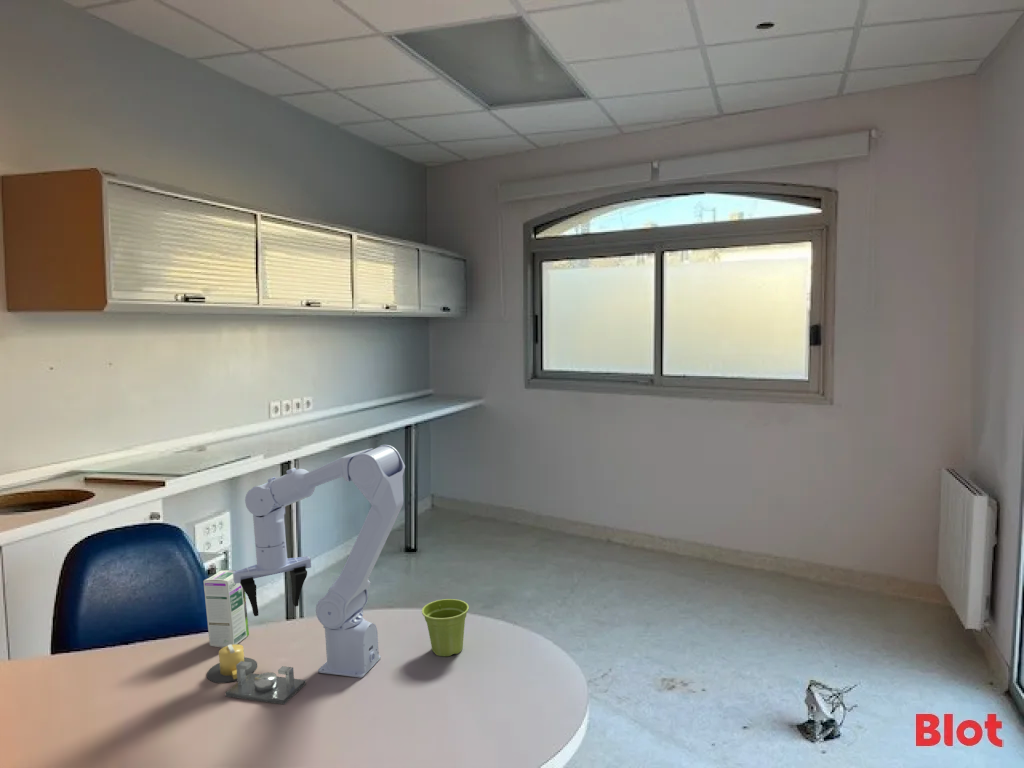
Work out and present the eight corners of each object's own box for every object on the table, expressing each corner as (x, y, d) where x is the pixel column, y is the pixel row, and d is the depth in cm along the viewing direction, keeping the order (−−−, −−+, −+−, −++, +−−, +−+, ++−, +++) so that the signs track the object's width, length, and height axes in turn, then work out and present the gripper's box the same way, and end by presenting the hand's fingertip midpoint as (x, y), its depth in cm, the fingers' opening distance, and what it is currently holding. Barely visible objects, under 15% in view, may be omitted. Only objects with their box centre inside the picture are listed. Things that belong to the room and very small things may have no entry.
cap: (249, 674, 130) (247, 652, 130) (224, 682, 128) (222, 659, 127) (240, 657, 137) (238, 636, 136) (216, 664, 134) (215, 643, 134)
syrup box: (233, 648, 142) (228, 580, 140) (208, 646, 143) (202, 579, 141) (249, 635, 147) (244, 570, 146) (224, 634, 148) (219, 569, 147)
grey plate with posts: (305, 684, 127) (304, 660, 126) (283, 704, 120) (282, 679, 120) (249, 677, 130) (248, 653, 129) (225, 696, 123) (223, 671, 123)
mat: (266, 661, 136) (266, 660, 136) (237, 685, 127) (236, 683, 127) (228, 656, 138) (228, 655, 138) (196, 679, 129) (196, 678, 129)
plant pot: (417, 659, 134) (414, 617, 134) (432, 637, 143) (430, 597, 143) (462, 663, 132) (460, 620, 131) (475, 640, 141) (474, 600, 141)
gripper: (303, 531, 142) (307, 594, 144) (228, 545, 135) (234, 611, 136) (311, 539, 136) (316, 605, 137) (233, 555, 129) (239, 624, 130)
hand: (275, 609), depth 136 cm, fingers open, 7 cm apart
